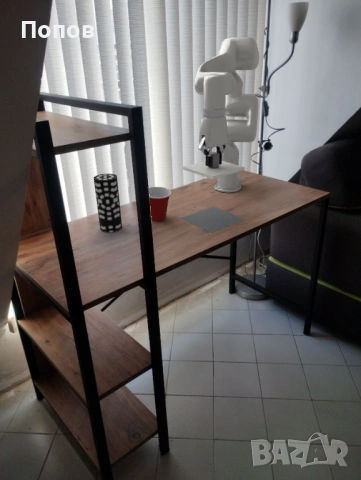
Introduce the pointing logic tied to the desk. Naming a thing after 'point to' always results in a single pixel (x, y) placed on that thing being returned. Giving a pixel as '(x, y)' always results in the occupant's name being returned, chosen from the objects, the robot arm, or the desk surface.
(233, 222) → the mat
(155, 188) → the plastic cup
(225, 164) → the lid
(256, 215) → the desk surface
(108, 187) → the white-spotted black cylinder
